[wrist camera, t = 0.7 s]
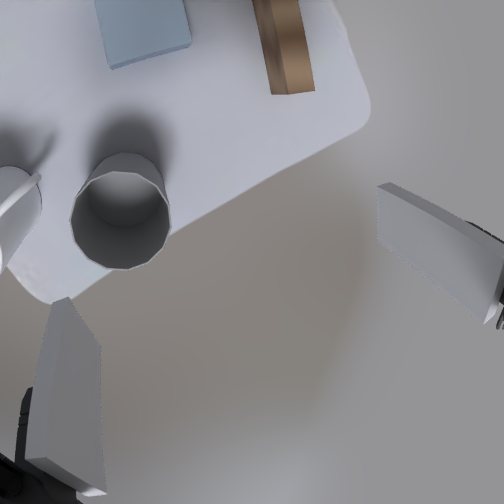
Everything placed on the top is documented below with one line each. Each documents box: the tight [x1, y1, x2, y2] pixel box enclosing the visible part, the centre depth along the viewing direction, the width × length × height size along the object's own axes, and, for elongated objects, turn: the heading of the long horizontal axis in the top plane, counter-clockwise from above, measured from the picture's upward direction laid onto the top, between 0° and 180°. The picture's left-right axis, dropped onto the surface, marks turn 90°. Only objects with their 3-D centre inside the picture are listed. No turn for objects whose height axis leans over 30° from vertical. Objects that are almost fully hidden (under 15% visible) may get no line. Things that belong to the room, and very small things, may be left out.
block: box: [95, 0, 192, 70], centre depth 23 cm, size 10×8×4 cm
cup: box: [69, 152, 172, 271], centre depth 28 cm, size 8×8×10 cm
